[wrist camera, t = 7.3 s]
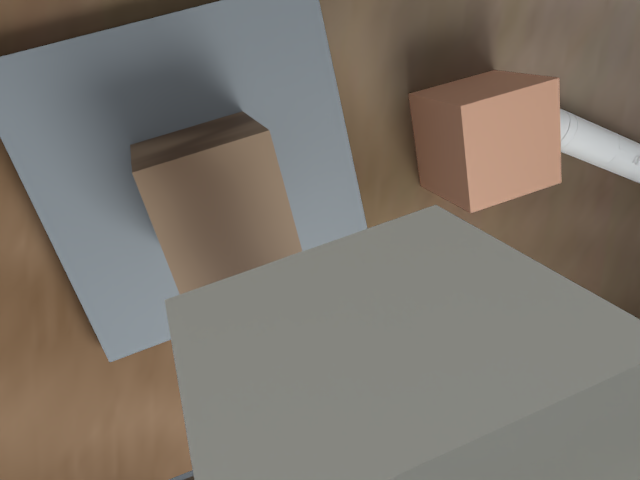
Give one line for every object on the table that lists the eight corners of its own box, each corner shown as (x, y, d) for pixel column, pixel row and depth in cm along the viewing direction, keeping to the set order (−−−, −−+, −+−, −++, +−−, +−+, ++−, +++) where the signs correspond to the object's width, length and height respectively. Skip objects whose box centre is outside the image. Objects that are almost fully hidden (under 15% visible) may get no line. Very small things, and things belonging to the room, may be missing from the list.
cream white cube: (436, 204, 10) (683, 343, 6) (465, 413, 12) (662, 634, 8) (165, 299, 9) (207, 562, 5) (247, 510, 11) (331, 830, 7)
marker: (498, 128, 31) (526, 136, 29) (514, 91, 30) (543, 96, 28) (699, 208, 38) (733, 219, 36) (714, 179, 38) (749, 189, 35)
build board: (305, -22, 25) (313, -24, 24) (365, 254, 30) (374, 262, 29) (-27, 63, 22) (-35, 65, 21) (110, 349, 28) (109, 362, 27)
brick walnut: (242, 111, 25) (269, 130, 20) (272, 213, 27) (302, 251, 22) (130, 144, 24) (131, 172, 19) (169, 248, 26) (180, 295, 21)
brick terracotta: (493, 69, 29) (559, 77, 25) (499, 160, 31) (561, 182, 27) (407, 93, 28) (460, 106, 24) (419, 185, 30) (470, 213, 26)
